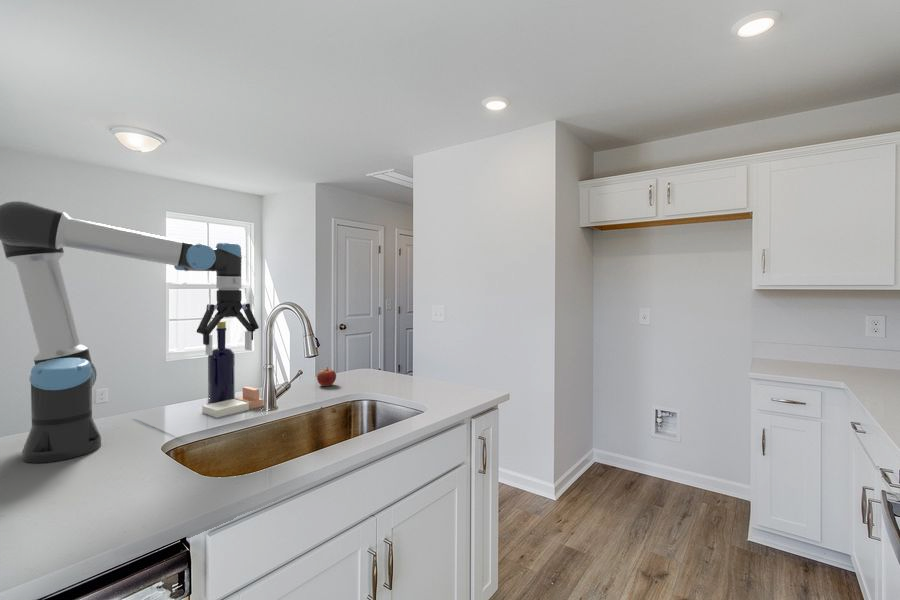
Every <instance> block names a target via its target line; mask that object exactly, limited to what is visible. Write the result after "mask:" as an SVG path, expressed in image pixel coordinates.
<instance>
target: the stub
mask: <svg viewBox="0 0 900 600" xmlns="http://www.w3.org/2000/svg"><path fill="white" fill-rule="evenodd" d="M235 399H239V400H242V401H246V402H249V410H253V409H256V408H261V407H264V398H260V388H257V387H251V386H243V387H242V396H241V397H235Z"/></svg>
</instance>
